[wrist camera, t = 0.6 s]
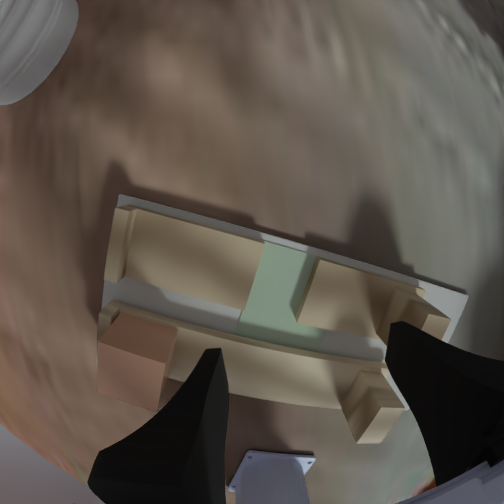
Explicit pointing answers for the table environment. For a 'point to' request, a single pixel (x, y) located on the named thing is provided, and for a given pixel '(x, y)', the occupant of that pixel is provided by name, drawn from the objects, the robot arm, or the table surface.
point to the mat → (273, 297)
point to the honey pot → (32, 43)
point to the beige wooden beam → (282, 373)
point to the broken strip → (244, 270)
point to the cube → (135, 361)
